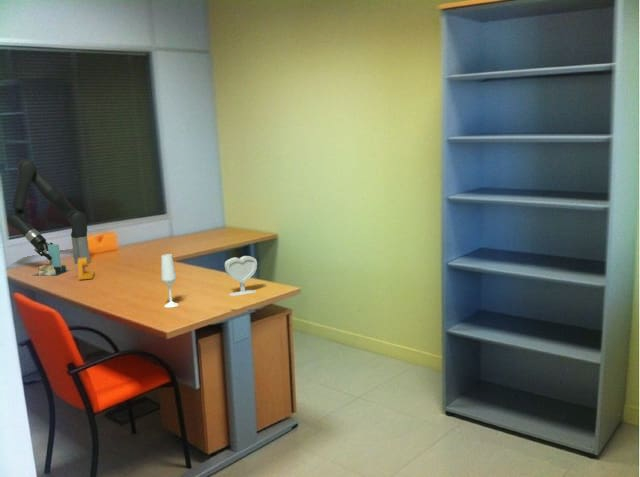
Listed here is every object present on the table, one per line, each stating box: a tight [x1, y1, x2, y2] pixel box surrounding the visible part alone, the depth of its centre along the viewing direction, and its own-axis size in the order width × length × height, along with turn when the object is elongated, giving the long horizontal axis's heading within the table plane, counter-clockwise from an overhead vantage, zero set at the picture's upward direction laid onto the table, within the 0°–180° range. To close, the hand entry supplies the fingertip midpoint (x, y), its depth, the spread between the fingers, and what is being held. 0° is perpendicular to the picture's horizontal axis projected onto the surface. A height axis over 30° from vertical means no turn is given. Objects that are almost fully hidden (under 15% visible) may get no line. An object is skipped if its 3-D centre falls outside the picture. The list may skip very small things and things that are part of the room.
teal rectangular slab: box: [47, 243, 62, 267], centre depth 363 cm, size 6×2×16 cm, turn 76°
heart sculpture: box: [224, 255, 258, 297], centre depth 302 cm, size 16×5×18 cm, turn 117°
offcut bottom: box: [38, 270, 56, 275], centre depth 357 cm, size 8×4×2 cm, turn 76°
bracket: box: [77, 257, 96, 281], centre depth 348 cm, size 11×7×12 cm, turn 13°
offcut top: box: [38, 264, 54, 271], centre depth 356 cm, size 7×4×2 cm, turn 80°
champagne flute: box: [160, 253, 180, 308], centre depth 285 cm, size 7×7×24 cm
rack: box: [31, 264, 71, 277], centre depth 360 cm, size 16×14×4 cm
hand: (55, 258), depth 363 cm, fingers open, 6 cm apart
